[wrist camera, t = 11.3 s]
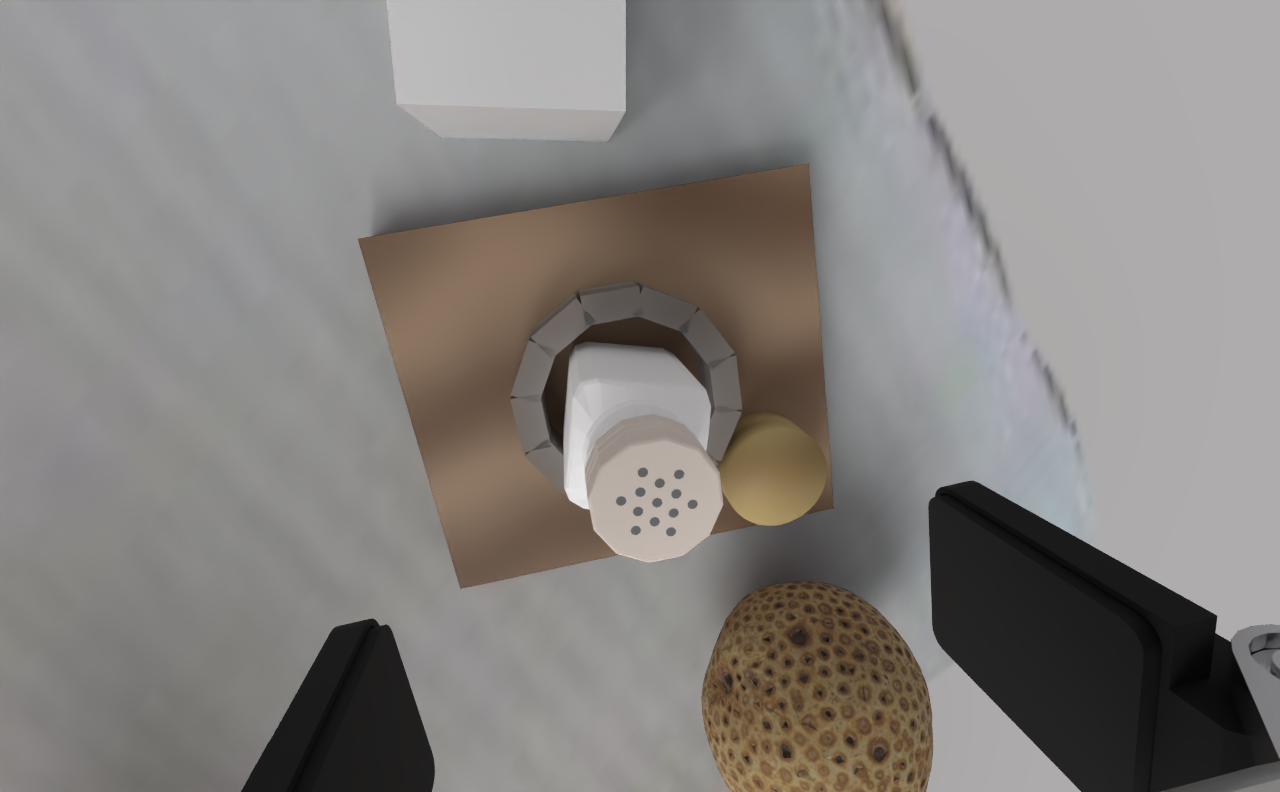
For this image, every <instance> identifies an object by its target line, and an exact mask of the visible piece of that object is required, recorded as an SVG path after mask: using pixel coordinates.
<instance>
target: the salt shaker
mask: <svg viewBox="0 0 1280 792" xmlns="http://www.w3.org/2000/svg"><path fill="white" fill-rule="evenodd" d="M710 414H711V404H710V401H709V397H708V394H707V391H706V389H705V388H704V387H703V386H702V385H701V384H700V383H699V381H698V380H697V379H696V378H695V377H694V376H693V375H692V374H691V373H690V372H689V370H688V369H687V368H686V367H685V366H684V365H683V364H682V363H681V362H680V360H679V359H678V358H677V357H676V356H675V355H674V354H673V353H671V352H669V351H667V350H665V349H664V348H656V347H645V346H633V345H622V344H611V343H599V342H588V341H587V342H584V343H581V344H577V345H575V346H574V348H573V350H572V352H571V354H570V356H569V365H568V377H567V389H566V401H565V413H564V426H563V446H564V489H565V491H566V493H567V496H568V498H569V500H570V501H571V502H573V503H575V504H577V505H578V506H580V507H582V508H583V509H589V510H590V514H591V520H592V525H593V530H594V531H595V532H596V533H597V534H598V535H599V536H600V537H601V538H602V539H603V540H604V541H605V543H606V544H607V545H608V546H609V547H610V548H611V549H612V550H613V551H614V552H615V553H616V554H619V555H623V556H626V557H630V558H633V559H637V560H641V561H644V562H648V563H651V562H656V561H661V560H666V559H671V558H675V557H680V556H683V555H685V554H686V553H687V552H688V551H690V550H691V549H692V548H694V547H695V546H696V545H697V544H699V543H700V542H701V541H703V540H704V539H705V538H706V537H708V536H709V535H710V533H711V531H712V529H713V526H714V524H715V522H716V520H717V517H718V515H719V513H720V511H721V509H722V506H723V496H722V488H721V479H720V472H719V470H718V469H717V467H716V466H715V464H714V463H713V461H712V460H711V458H710V457H709V455H708V454H707V452H706V450H707V442H708V435H709V425H710Z"/></svg>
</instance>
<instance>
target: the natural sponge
mask: <svg viewBox="0 0 1280 792" xmlns="http://www.w3.org/2000/svg"><path fill="white" fill-rule="evenodd" d="M702 713H703V719H704V725H705V730H706V734H707V738H708V741H709V744H710V747H711V750H712V753H713V756H714V759H715V762H716V765H717V768H718V770H719V772H720V774H721V776H722V778H723V779H724V781H725V783H726V785H727V787H728V788H729V790H730V792H926V789H927V785H928V780H929V776H930V772H931V765H932V756H933V733H932V711H931V704H930V698H929V693H928V688H927V685H926V682H925V679H924V676H923V674H922V671H921V669H920V667H919V665H918V663H917V661H916V659H915V657H914V656H913V654H912V652H911V650H910V649H909V647H908V645H907V644H906V643H905V641H904V640H903V638H902V637H901V636H900V634H899V633H898V632H897V630H896V629H895V628H894V627H893V626H892V625H891V624H890V623H889V622H888V621H887V620H886V619H885V617H884V616H883V615H882V614H881V613H880V612H879V611H878V610H877V609H875V608H874V607H873V606H871V605H870V604H869V603H867V602H866V601H865V600H863V599H862V598H861V597H859V596H857V595H855V594H853V593H852V592H850V591H848V590H845V589H842V588H840V587H837V586H834V585H831V584H826V583H822V582H814V581H797V582H789V583H781V584H775V585H772V586H768V587H765V588H761V589H758V590H756V591H754V592H752V593H750V594H748V595H747V596H745V597H744V598H743V599H742V600H741V601H740V602H739V603H738V604H737V605H736V607H735V608H734V609H733V611H732V612H731V613H730V615H729V616H728V617H727V619H726V621H725V623H724V625H723V628H722V630H721V632H720V634H719V637H718V639H717V642H716V645H715V647H714V650H713V653H712V656H711V660H710V663H709V666H708V668H707V671H706V674H705V678H704V683H703V691H702Z"/></svg>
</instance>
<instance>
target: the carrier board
mask: <svg viewBox="0 0 1280 792" xmlns="http://www.w3.org/2000/svg"><path fill="white" fill-rule="evenodd" d="M358 241H359V244H360V248H361V251H362V255H363V258H364V261H365V265H366V268H367V272H368V275H369V278H370V282H371V285H372V289H373V292H374V295H375V299H376V302H377V306H378V309H379V313H380V316H381V319H382V323H383V326H384V330H385V333H386V336H387V340H388V343H389V347H390V350H391V353H392V357H393V360H394V364H395V367H396V370H397V374H398V377H399V381H400V384H401V387H402V391H403V394H404V398H405V401H406V404H407V408H408V411H409V415H410V418H411V422H412V425H413V428H414V432H415V435H416V439H417V442H418V445H419V449H420V452H421V456H422V459H423V462H424V466H425V469H426V473H427V476H428V479H429V483H430V486H431V490H432V493H433V496H434V500H435V503H436V507H437V510H438V513H439V517H440V520H441V524H442V527H443V531H444V534H445V537H446V541H447V544H448V548H449V551H450V554H451V558H452V561H453V565H454V568H455V571H456V575H457V578H458V582H459V585H460V588H461V589H462V588H467V587H472V586H476V585H481V584H485V583H490V582H495V581H499V580H504V579H509V578H513V577H518V576H522V575H527V574H532V573H536V572H541V571H546V570H550V569H555V568H559V567H564V566H569V565H573V564H578V563H582V562H587V561H592V560H596V559H601V558H606V557H610V556H615V555H619V554H616V553H615V552H614V551H613V550H612V549H611V548H610V547H609V546H608V545H607V544H606V543H605V541H604V540H603V539H602V538H601V537H600V536H599V535H598V534H597V533H596V532H595V531H594V530H593V525H592V520H591V514H590V510H589V509H583V508H582V507H580V506H578V505H577V504H575V503H573V502H571V501H570V500H569V498H568V496H567V493H566V491H565V489H564V446H563V426H564V413H565V401H566V389H567V377H568V365H569V356H570V354H571V352H572V350H573V348H574V346H575V345H577V344H581V343H584V342H587V341H588V342H599V343H611V344H622V345H633V346H645V347H656V348H664V349H665V350H667V351H669V352H671V353H673V354H674V355H675V356H676V357H677V358H678V359H679V360H680V362H681V363H682V364H683V365H684V366H685V367H686V368H687V369H688V370H689V372H690V373H691V374H692V375H693V376H694V377H695V378H696V379H697V380H698V381H699V383H700V384H701V385H702V386H703V387H704V388H705V389H706V391H707V394H708V397H709V401H710V404H711V414H710V425H709V435H708V442H707V450H706V452H707V454H708V455H709V457H710V458H711V460H712V461H713V463H714V464H715V466H716V467H717V469H718V470H719V472H720V479H721V488H722V496H723V506H722V509H721V511H720V513H719V515H718V517H717V520H716V522H715V524H714V526H713V529H712V531H711V533H710V535H712V534H717V533H721V532H726V531H730V530H735V529H740V528H744V527H749V526H754V525H758V524H759V525H766V526H775V525H781V524H785V523H788V522H791V521H793V520H795V519H797V518H799V517H801V516H802V515H804V514H809V513H814V512H818V511H823V510H828V509H832V508H834V505H833V491H832V477H831V464H830V450H829V436H828V423H827V409H826V396H825V382H824V368H823V355H822V341H821V327H820V314H819V300H818V286H817V273H816V259H815V245H814V232H813V218H812V204H811V191H810V177H809V164H803V165H797V166H791V167H785V168H779V169H773V170H767V171H761V172H755V173H749V174H743V175H737V176H731V177H725V178H719V179H713V180H707V181H701V182H695V183H689V184H683V185H677V186H671V187H665V188H659V189H653V190H647V191H641V192H635V193H629V194H623V195H617V196H611V197H605V198H599V199H593V200H588V201H582V202H576V203H570V204H564V205H558V206H552V207H546V208H540V209H534V210H528V211H522V212H516V213H510V214H504V215H498V216H492V217H486V218H480V219H474V220H468V221H462V222H456V223H450V224H444V225H438V226H432V227H426V228H420V229H414V230H408V231H402V232H396V233H390V234H384V235H378V236H372V237H366V238H360V239H358Z"/></svg>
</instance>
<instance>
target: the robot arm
mask: <svg viewBox="0 0 1280 792" xmlns="http://www.w3.org/2000/svg"><path fill="white" fill-rule="evenodd" d="M929 537H930V567H931V597H932V625H933V631H934V635H935V637H936V639H937V641H938V643H939V645H940V646H941V647H942V649H943V650H944V651H945V652H946V653H947V654H948V655H949V656H950V657H951V658H952V659H953V660H954V661H955V662H956V663H957V664H958V665H959V666H960V667H961V668H962V669H963V670H964V672H965V673H967V675H968V676H970V678H971V679H972V680H973V681H974V682H975V683H976V684H977V685H978V686H979V687H980V688H981V689H982V690H983V691H984V692H985V693H986V694H987V695H988V696H989V697H990V698H991V699H992V700H993V701H994V702H995V703H996V704H997V705H998V706H999V707H1000V708H1001V710H1002V711H1003V712H1004V713H1005V714H1006V715H1007V716H1008V717H1009V718H1010V719H1011V720H1012V721H1013V722H1014V723H1015V724H1016V725H1017V726H1018V727H1019V728H1020V729H1021V730H1022V731H1023V732H1024V733H1025V734H1026V735H1027V736H1028V737H1029V738H1030V739H1031V740H1032V741H1033V742H1034V743H1035V744H1036V746H1038V748H1039V749H1040V750H1041V751H1042V752H1043V753H1044V754H1045V755H1046V756H1047V757H1048V758H1049V759H1050V760H1051V761H1052V762H1053V763H1054V764H1055V765H1056V766H1057V767H1058V768H1059V769H1060V770H1061V771H1062V772H1063V773H1064V774H1065V775H1066V776H1067V777H1068V778H1069V779H1070V780H1071V782H1073V783H1074V785H1075V786H1076V787H1077V788H1078V789H1079V790H1080V791H1081V792H1280V625H1271V624H1270V625H1257V626H1250V627H1247V628H1245V629H1242V630H1239V631H1238V632H1237V633H1236V634H1235V635H1234V636H1233V638H1232V639H1231V642H1230V641H1228V640H1226V639H1224V638H1223V637H1221V636H1219V635H1217V634H1216V633H1215V630H1216V622H1217V616H1216V615H1215V614H1213V613H1211V612H1209V611H1208V610H1206V609H1204V608H1202V607H1201V606H1198V605H1197V604H1195V603H1193V602H1191V601H1190V600H1188V599H1186V598H1184V597H1183V596H1181V595H1179V594H1177V593H1175V592H1173V591H1172V590H1170V589H1168V588H1166V587H1164V586H1163V585H1161V584H1159V583H1157V582H1156V581H1154V580H1152V579H1150V578H1148V577H1147V576H1145V575H1143V574H1141V573H1139V572H1137V571H1136V570H1134V569H1132V568H1130V567H1129V566H1127V565H1125V564H1123V563H1121V562H1120V561H1118V560H1116V559H1114V558H1112V557H1110V556H1109V555H1107V554H1105V553H1103V552H1102V551H1100V550H1098V549H1096V548H1094V547H1093V546H1091V545H1089V544H1087V543H1086V542H1084V541H1082V540H1080V539H1078V538H1077V537H1075V536H1073V535H1071V534H1069V533H1068V532H1066V531H1064V530H1062V529H1060V528H1059V527H1057V526H1055V525H1053V524H1051V523H1050V522H1048V521H1046V520H1044V519H1042V518H1041V517H1039V516H1037V515H1035V514H1033V513H1032V512H1030V511H1028V510H1026V509H1024V508H1023V507H1021V506H1019V505H1017V504H1015V503H1014V502H1012V501H1010V500H1008V499H1006V498H1005V497H1003V496H1001V495H999V494H997V493H996V492H994V491H992V490H990V489H988V488H987V487H985V486H983V485H981V484H980V483H978V482H975V481H967V482H962V483H958V484H954V485H949V486H945V487H941V488H939V489H938V490H937V492H936V494H935V497H934V498H932V499H931V500H930V502H929ZM434 775H435V767H434V758H433V754H432V751H431V748H430V745H429V742H428V739H427V735H426V732H425V729H424V726H423V723H422V720H421V717H420V714H419V711H418V708H417V705H416V702H415V699H414V696H413V693H412V690H411V687H410V684H409V681H408V678H407V675H406V672H405V669H404V666H403V663H402V660H401V657H400V654H399V651H398V648H397V645H396V642H395V639H394V636H393V633H392V630H391V628H390V627H389V626H388V625H383V626H379V624H378V622H377V621H376V620H375V619H368V620H363V621H359V622H354V623H350V624H346V625H341V626H337V627H335V628H334V629H333V630H332V631H331V633H330V634H329V636H328V638H327V640H326V642H325V643H324V645H323V647H322V649H321V651H320V652H319V654H318V656H317V658H316V660H315V661H314V663H313V665H312V667H311V668H310V670H309V672H308V674H307V676H306V677H305V679H304V681H303V683H302V685H301V686H300V688H299V690H298V692H297V694H296V695H295V697H294V699H293V701H292V702H291V704H290V706H289V708H288V710H287V711H286V713H285V715H284V717H283V719H282V720H281V722H280V724H279V726H278V728H277V729H276V731H275V733H274V735H273V736H272V738H271V740H270V741H269V743H268V744H267V746H266V748H265V750H264V752H263V753H262V755H261V757H260V759H259V761H258V762H257V764H256V766H255V768H254V770H253V771H252V773H251V775H250V777H249V778H248V780H247V782H246V784H245V786H244V787H243V789H242V791H241V792H432V788H433V783H434Z"/></svg>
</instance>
